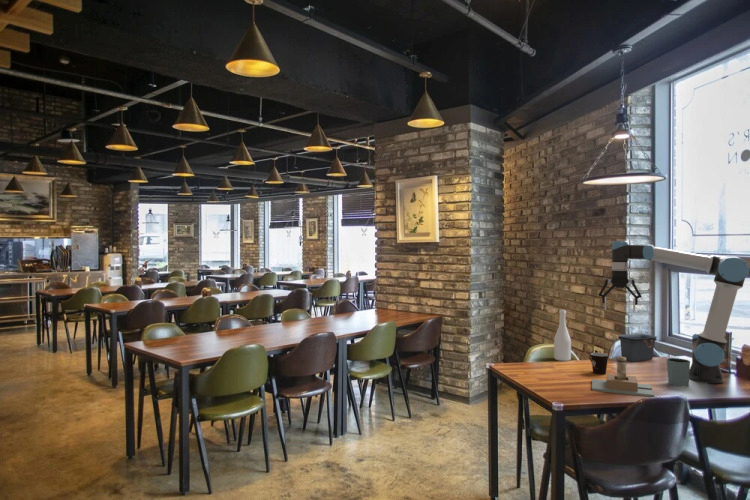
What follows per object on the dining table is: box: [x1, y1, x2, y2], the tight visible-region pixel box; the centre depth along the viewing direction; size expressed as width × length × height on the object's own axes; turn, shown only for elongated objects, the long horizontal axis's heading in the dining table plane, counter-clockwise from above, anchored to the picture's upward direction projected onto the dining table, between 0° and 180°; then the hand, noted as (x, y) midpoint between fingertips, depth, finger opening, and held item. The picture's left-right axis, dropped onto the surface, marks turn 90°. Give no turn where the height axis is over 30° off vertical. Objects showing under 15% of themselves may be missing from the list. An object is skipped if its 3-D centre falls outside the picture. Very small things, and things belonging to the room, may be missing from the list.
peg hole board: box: [591, 373, 655, 398], centre depth 239 cm, size 26×18×5 cm
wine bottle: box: [553, 309, 572, 362], centre depth 300 cm, size 10×10×30 cm
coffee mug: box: [588, 352, 609, 375], centre depth 270 cm, size 12×9×10 cm
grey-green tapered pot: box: [666, 357, 691, 387], centre depth 247 cm, size 10×10×12 cm
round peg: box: [616, 356, 627, 380], centre depth 239 cm, size 4×4×14 cm
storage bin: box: [617, 333, 658, 362], centre depth 299 cm, size 21×16×14 cm
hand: (619, 310), depth 261 cm, fingers open, 13 cm apart
